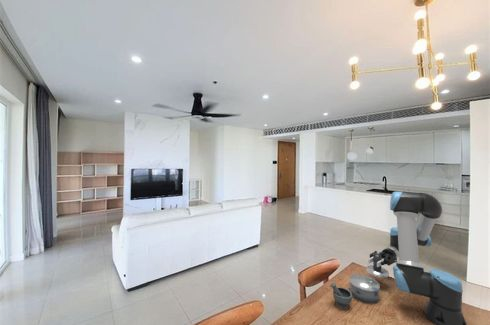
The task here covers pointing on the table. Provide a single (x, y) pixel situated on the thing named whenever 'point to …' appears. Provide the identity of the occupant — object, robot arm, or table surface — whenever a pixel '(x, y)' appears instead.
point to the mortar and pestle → (341, 296)
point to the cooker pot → (364, 288)
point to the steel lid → (376, 270)
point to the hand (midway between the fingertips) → (373, 262)
